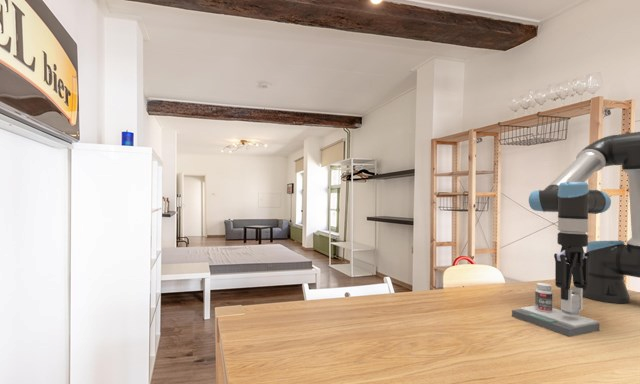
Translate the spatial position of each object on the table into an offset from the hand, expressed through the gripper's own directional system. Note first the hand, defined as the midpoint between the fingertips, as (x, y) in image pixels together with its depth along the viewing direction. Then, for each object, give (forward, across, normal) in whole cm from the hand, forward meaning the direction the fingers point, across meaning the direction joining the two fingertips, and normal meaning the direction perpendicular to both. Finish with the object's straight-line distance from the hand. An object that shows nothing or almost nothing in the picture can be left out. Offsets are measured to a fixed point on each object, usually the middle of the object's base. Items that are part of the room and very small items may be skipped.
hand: (571, 309), depth 105 cm
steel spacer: (+1, 0, 0) cm, 1 cm away
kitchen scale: (+5, +1, -4) cm, 7 cm away
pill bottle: (+3, 0, -9) cm, 9 cm away
